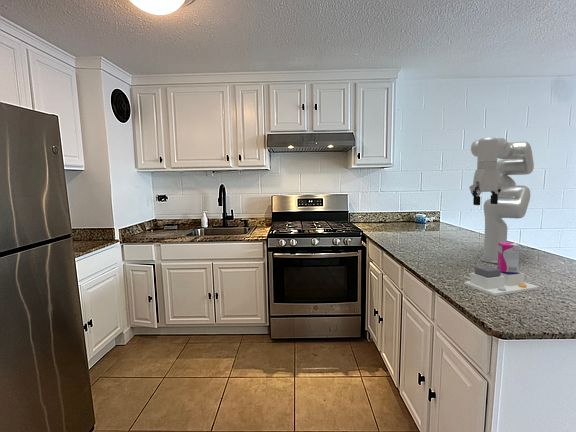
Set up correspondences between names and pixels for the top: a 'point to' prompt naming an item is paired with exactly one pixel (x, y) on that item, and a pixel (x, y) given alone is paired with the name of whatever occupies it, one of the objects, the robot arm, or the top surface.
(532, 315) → the top surface
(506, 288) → the breaker panel
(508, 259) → the supplement box
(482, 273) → the plain breaker
